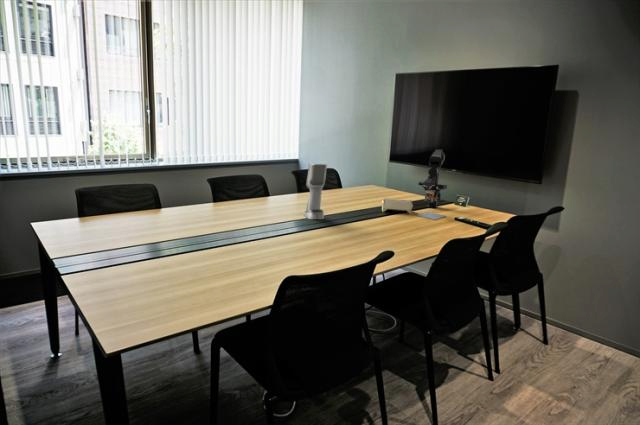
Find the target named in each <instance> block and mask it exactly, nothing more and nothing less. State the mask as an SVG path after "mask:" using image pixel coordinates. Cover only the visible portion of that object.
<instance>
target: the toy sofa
mask: <svg viewBox="0 0 640 425" xmlns="http://www.w3.org/2000/svg"><path fill="white" fill-rule="evenodd" d="M381 204H382V205H381V211H382V212H381V213H384V212H386V211H387V210H398V211H407V213H408V214H410V215H412V209H413V207H414V205H413V200H411V199H394V198H388V197H387V198H386V197H384V198H383V199H382V200H381Z"/></svg>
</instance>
